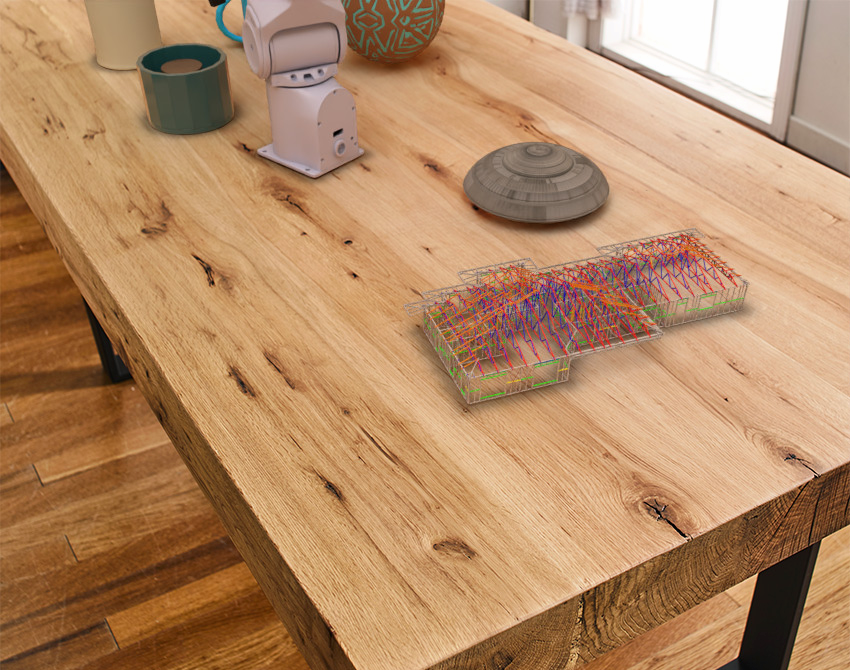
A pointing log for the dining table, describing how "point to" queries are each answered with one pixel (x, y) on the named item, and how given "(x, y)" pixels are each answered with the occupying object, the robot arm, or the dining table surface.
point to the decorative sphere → (391, 27)
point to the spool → (181, 66)
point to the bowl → (186, 89)
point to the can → (123, 31)
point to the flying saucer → (536, 183)
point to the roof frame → (567, 305)
